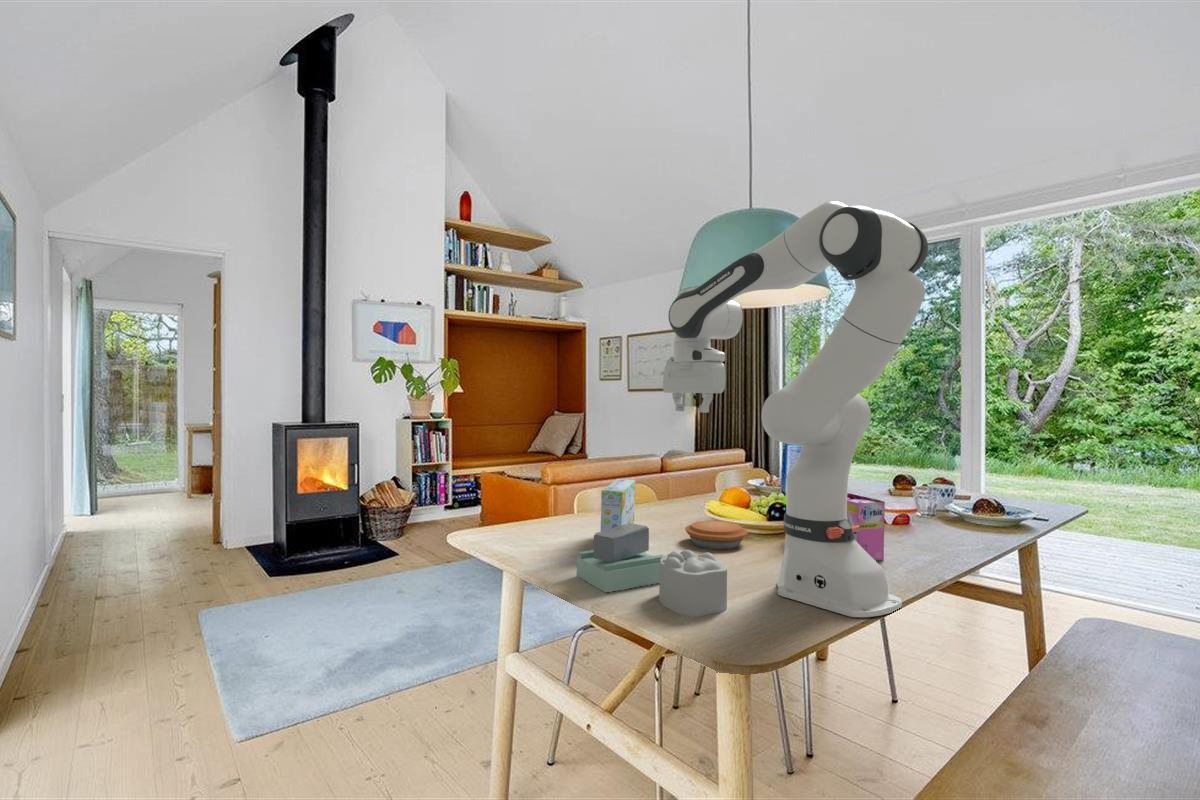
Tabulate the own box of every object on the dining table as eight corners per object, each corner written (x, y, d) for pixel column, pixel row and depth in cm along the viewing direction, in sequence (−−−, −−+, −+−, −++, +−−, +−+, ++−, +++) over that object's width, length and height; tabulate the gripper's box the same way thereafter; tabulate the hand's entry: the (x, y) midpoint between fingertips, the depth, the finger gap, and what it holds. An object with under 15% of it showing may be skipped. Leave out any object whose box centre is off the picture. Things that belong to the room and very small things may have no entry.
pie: (674, 538, 155) (674, 519, 155) (727, 534, 159) (727, 516, 159) (702, 554, 140) (702, 533, 140) (759, 549, 145) (760, 528, 145)
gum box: (791, 538, 156) (791, 486, 156) (816, 536, 158) (817, 485, 158) (857, 563, 133) (858, 502, 133) (885, 560, 135) (886, 501, 135)
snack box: (622, 556, 137) (623, 491, 137) (598, 555, 139) (599, 490, 138) (635, 535, 158) (636, 478, 158) (614, 533, 159) (615, 477, 159)
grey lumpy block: (685, 619, 100) (685, 567, 100) (646, 595, 111) (646, 549, 111) (735, 609, 104) (735, 560, 104) (692, 587, 116) (692, 543, 116)
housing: (613, 563, 114) (614, 537, 114) (593, 558, 117) (593, 533, 117) (648, 550, 124) (648, 526, 124) (629, 546, 127) (629, 522, 127)
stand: (666, 581, 119) (666, 557, 119) (606, 593, 112) (606, 566, 112) (634, 566, 129) (634, 543, 129) (576, 575, 122) (576, 551, 122)
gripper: (657, 356, 153) (656, 410, 153) (709, 352, 135) (708, 413, 135) (676, 357, 156) (676, 410, 156) (730, 353, 138) (729, 413, 138)
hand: (691, 411), depth 145 cm, fingers open, 8 cm apart
